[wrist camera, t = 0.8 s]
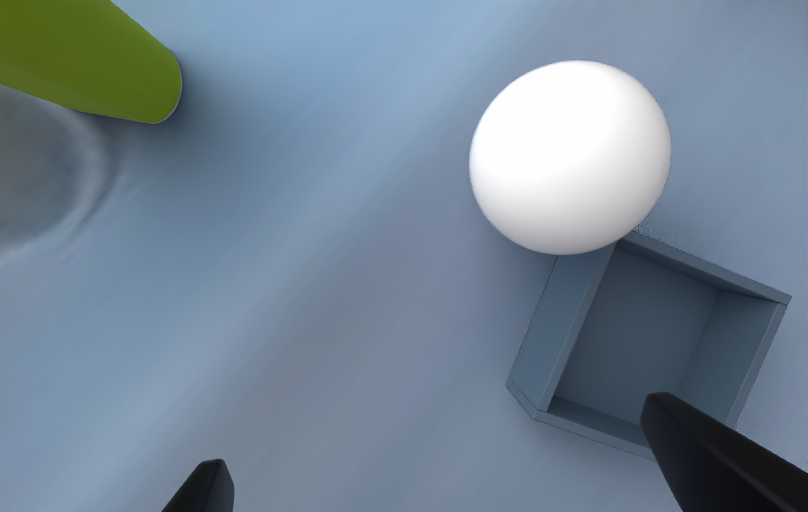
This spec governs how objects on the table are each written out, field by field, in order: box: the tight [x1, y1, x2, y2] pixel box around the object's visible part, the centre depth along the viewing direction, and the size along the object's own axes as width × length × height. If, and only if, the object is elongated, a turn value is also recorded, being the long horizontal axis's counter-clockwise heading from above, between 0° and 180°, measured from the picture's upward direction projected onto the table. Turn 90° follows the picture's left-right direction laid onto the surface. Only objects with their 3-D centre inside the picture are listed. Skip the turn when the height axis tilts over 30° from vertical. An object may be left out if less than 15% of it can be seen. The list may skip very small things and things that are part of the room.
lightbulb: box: [469, 60, 672, 255], centre depth 17 cm, size 6×6×11 cm
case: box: [506, 231, 792, 462], centre depth 22 cm, size 10×10×4 cm
